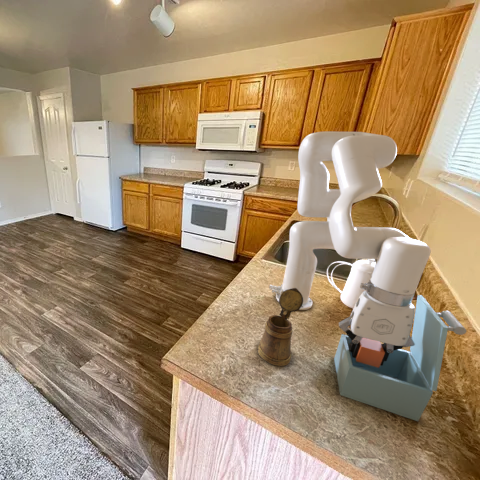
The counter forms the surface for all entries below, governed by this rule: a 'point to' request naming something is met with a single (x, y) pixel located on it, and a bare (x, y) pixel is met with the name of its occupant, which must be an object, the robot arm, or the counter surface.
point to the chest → (383, 382)
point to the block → (370, 352)
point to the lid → (431, 339)
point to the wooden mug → (280, 330)
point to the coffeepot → (354, 280)
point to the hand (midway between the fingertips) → (365, 356)
